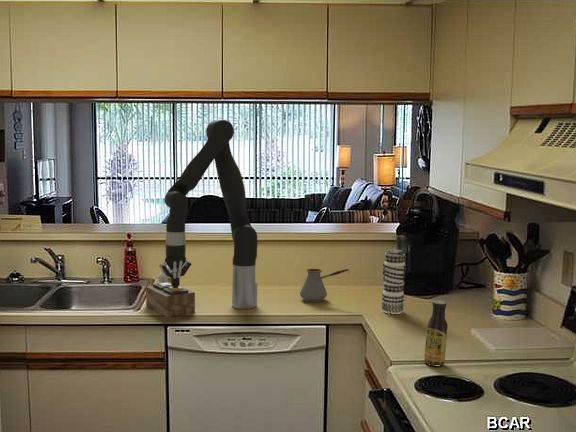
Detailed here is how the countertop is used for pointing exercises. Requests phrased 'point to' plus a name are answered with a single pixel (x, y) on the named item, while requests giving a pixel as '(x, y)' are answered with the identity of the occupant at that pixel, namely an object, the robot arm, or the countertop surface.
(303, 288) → the coffee pot
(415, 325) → the countertop surface
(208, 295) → the countertop surface
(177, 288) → the ochre peg
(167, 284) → the grey metal peg
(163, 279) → the supplement bottle
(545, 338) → the countertop surface
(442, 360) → the sauce bottle
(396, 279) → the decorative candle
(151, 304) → the walnut block
